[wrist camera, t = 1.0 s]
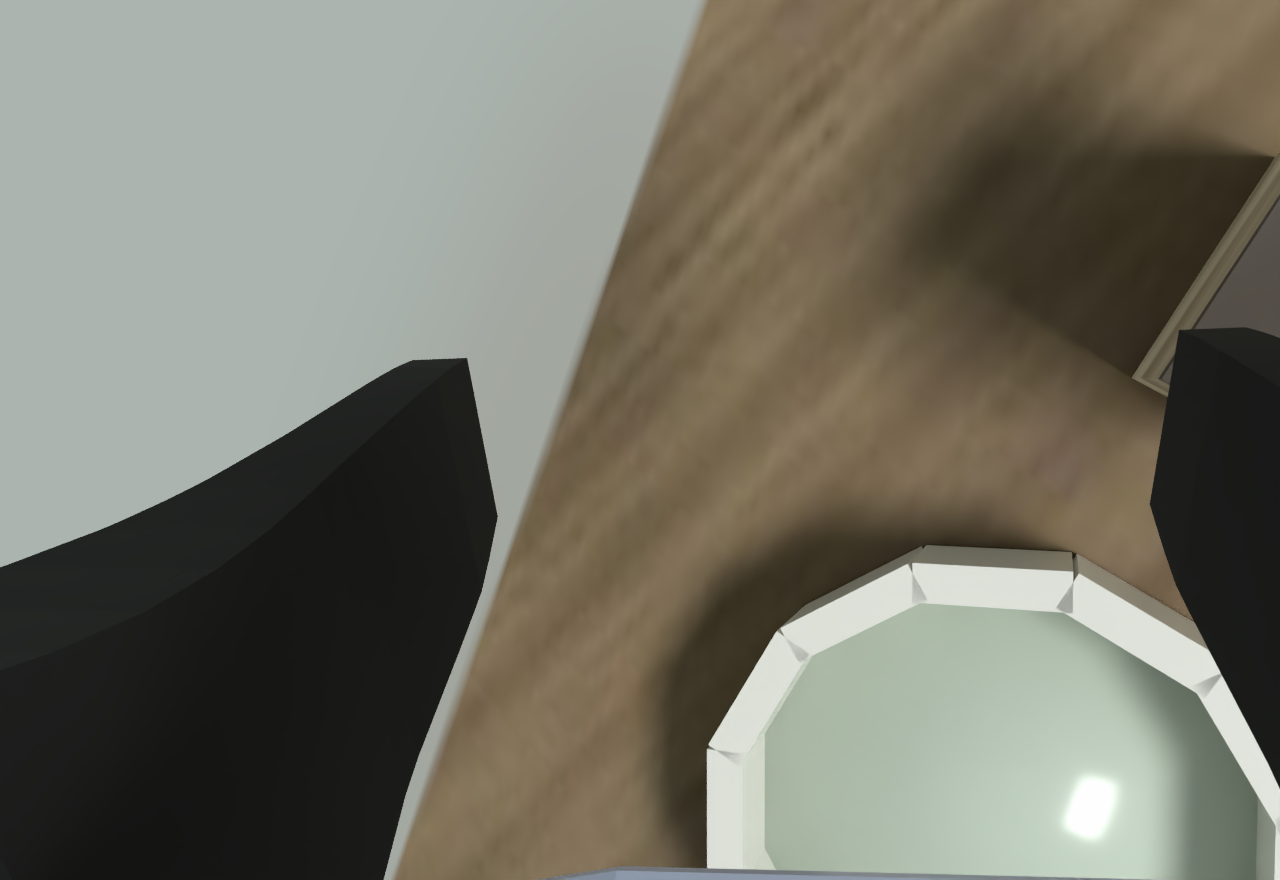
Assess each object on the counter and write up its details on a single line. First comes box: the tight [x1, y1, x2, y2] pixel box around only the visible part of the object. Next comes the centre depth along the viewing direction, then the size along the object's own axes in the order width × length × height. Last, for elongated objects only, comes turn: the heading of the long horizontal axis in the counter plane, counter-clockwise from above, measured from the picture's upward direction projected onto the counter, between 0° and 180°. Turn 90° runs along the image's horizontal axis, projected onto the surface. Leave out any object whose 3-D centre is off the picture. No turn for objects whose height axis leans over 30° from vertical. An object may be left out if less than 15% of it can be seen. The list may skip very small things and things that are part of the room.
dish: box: [707, 545, 1280, 880], centre depth 23 cm, size 12×12×2 cm
